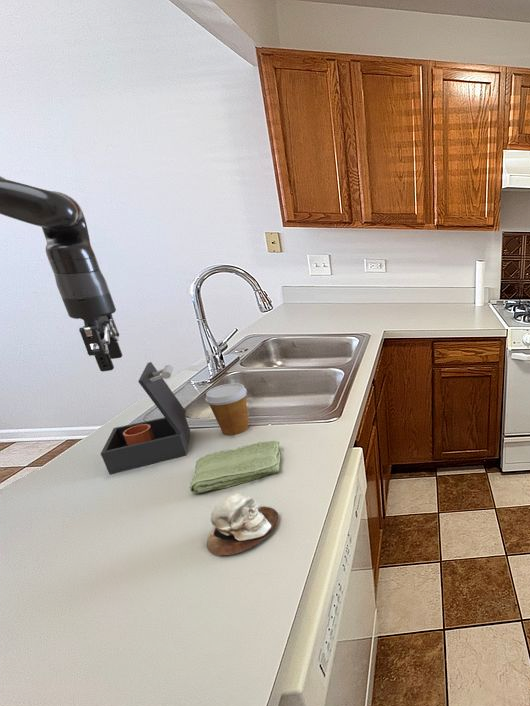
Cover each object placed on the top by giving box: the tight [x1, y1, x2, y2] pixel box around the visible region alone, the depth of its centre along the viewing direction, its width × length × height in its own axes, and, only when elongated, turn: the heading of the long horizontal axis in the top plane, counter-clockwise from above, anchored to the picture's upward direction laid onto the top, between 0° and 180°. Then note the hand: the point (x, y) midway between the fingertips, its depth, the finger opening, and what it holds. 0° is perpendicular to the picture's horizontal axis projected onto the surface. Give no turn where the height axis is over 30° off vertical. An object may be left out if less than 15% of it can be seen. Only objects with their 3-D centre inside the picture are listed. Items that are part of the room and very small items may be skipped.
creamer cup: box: [123, 424, 155, 446], centre depth 97 cm, size 5×5×6 cm
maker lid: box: [138, 361, 186, 434], centre depth 97 cm, size 15×13×5 cm
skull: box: [205, 492, 280, 556], centre depth 74 cm, size 12×10×10 cm
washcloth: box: [189, 440, 281, 494], centre depth 92 cm, size 13×18×3 cm
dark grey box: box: [100, 415, 191, 475], centre depth 98 cm, size 15×13×6 cm
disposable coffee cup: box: [204, 382, 250, 436], centre depth 107 cm, size 10×10×12 cm
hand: (112, 363), depth 90 cm, fingers open, 8 cm apart
